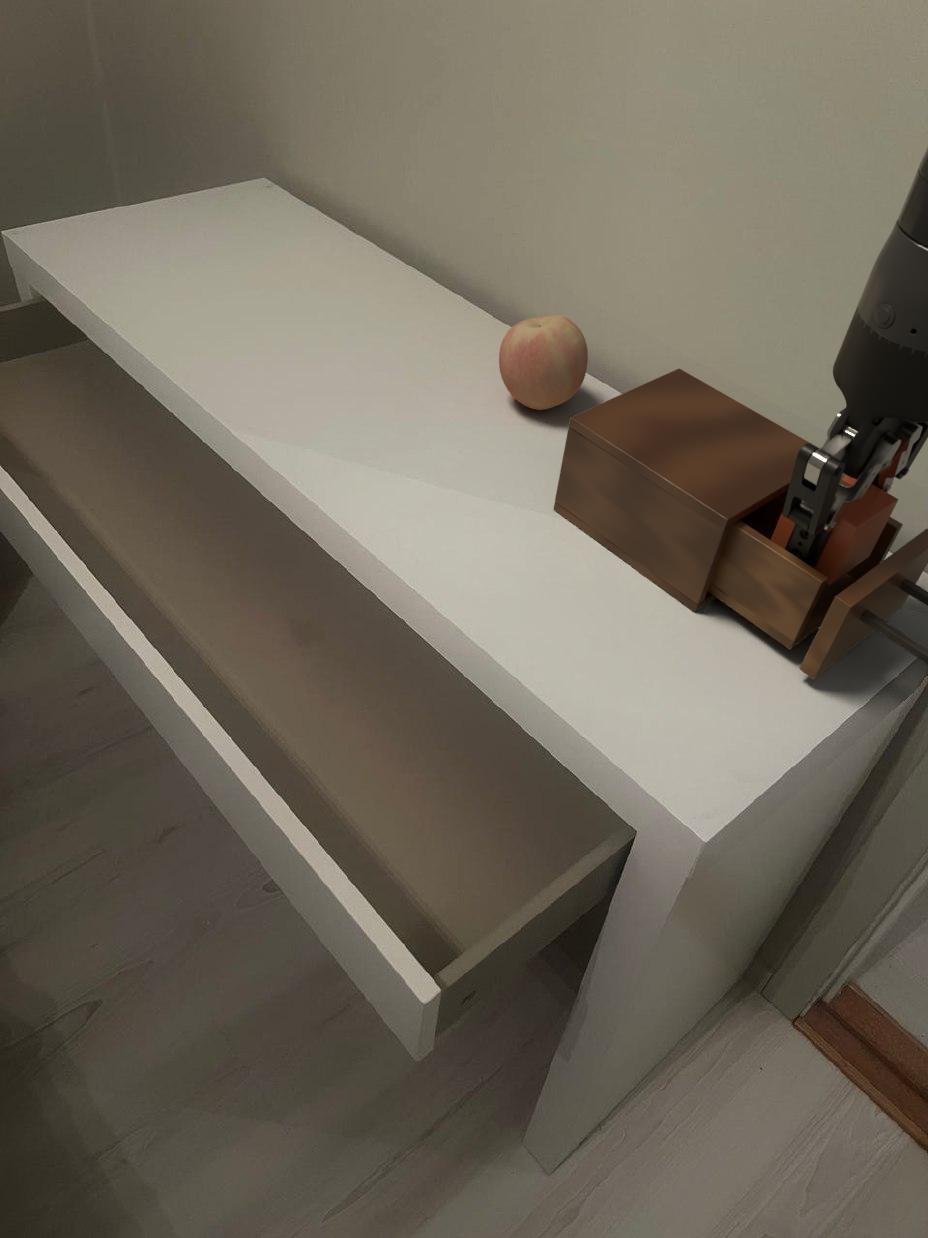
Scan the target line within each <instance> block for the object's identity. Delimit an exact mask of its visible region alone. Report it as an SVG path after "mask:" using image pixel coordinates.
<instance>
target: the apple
mask: <svg viewBox="0 0 928 1238" xmlns="http://www.w3.org/2000/svg"><path fill="white" fill-rule="evenodd" d="M588 358H589V353H588V345H587V341H586V338H585V335H584V334H583V332H582V330H581V329H580V327H579V326H577V324H576V323H574V322H573V321H572V320H571V319H570V318H568V317H566V316H563V315H558V314H553V315H546V316H539V317H531V318H526V319H523V320H521V321H520V322H518V323H516V324H514V325H513V326H511V327H510V328H509V329H508V331H507V332H506V333H505V335H504V336H503V338H502V341H501V344H500V346H499V352H498V368H499V374H500V376H501V380H502V382H503V384H504V386H505V388H506V390H507V391H508V393H509V394H510V395H511V396H512V397H513V398H514V399H515V401H517V403H520V404H521V405H523V406H524V407H527V408H530V409H532V410H538V411H542V410H548V409H551V408H554V407H556V406H559V405H562V404H564V403H565V402H567V401H569V400H570V399H571V398H572V397H574V395H576V393H577V392H578V391H579V390H580V388H581V386H582V385H583V383H584V381H585V378H586V373H587V369H588V363H589V362H588V360H589V359H588Z"/></svg>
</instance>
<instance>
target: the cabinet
mask: <svg viewBox="0 0 928 1238" xmlns="http://www.w3.org/2000/svg"><path fill="white" fill-rule="evenodd" d="M807 443H810V444H812V445H814V446H815V447H817V448H819V449H820V448H821V447H818V446H816V445H815V444H814V443H811V441H808V440H806V439H805V438H802V437H801V436H799V435H798V434H796V433H793V432H792V431H790V430H789V429H787V428H785V427H783V426H781V425H780V424H778V423H776V422H775V421H773V420H771V419H770V418H768V417H766V416H764V415H762V414H761V413H759V412H757V411H755V410H753V409H752V408H750V407H748V406H746V405H745V404H743V403H741V402H739V401H738V400H735V398H732V397H730V396H729V395H727V394H725V393H723V392H721V391H720V390H718V389H717V388H715V387H713V386H711V385H710V384H707V383H706V382H704V381H702V380H700V379H699V378H697V377H695V376H694V375H692V374H690V373H689V372H686V371H684V370H683V369H681V368H677V369H674V370H672V371H669V372H668V373H665V374H663V375H661V376H659V377H657V378H654V379H652V380H650V381H647V382H646V383H643V384H641V385H639V386H637V387H633V388H632V389H631V390H627V391H625V392H623V393H621V394H619V395H617V396H614V397H612V398H610V399H608V400H606V401H603V402H601V403H599V404H596V405H594V406H593V407H590V408H588V409H586V410H583V411H581V412H578V413H577V414H575V415H573V416H570V418H569V421H568V427H567V433H566V439H565V444H564V449H563V455H562V460H561V465H560V471H559V477H558V481H557V487H556V493H555V499H554V503H553V504H554V505H553V510H554V511H555V512H556V513H558V514H559V515H560V516H561V517H563V518H565V519H566V520H568V521H569V522H570V523H572V524H573V525H575V526H576V527H577V528H578V529H580V530H582V531H583V532H584V533H585V534H587V535H588V536H590V537H591V538H593V539H594V540H595V541H596V542H598V543H599V544H601V545H602V546H603V547H605V548H606V549H607V550H609V551H610V552H612V553H613V554H614V555H615V556H616V557H618V558H619V559H621V560H622V561H623V562H625V563H626V564H628V565H629V566H630V567H632V568H633V569H635V570H636V571H637V572H639V573H640V574H642V575H643V576H644V577H645V578H647V579H648V580H650V581H651V582H652V583H654V584H655V585H657V586H658V587H659V588H661V589H662V590H663V591H665V592H666V593H667V594H669V595H670V596H672V597H673V598H675V599H676V600H677V601H678V602H680V603H681V604H683V605H684V606H685V607H686V608H688V609H689V610H691V611H692V612H693V613H696V612H698V611H699V610H701V609H702V608H704V607H705V606H707V605H708V604H710V603H711V602H713V601H715V600H716V599H717V598H716V597H715V596H714V595H712V594H711V593H709V592H708V588H709V585H710V582H711V580H712V577H713V574H714V571H715V569H716V566H717V563H718V560H719V557H720V555H721V552H722V549H723V546H724V544H725V541H726V538H727V535H728V533H729V530H730V527H731V525H732V524H733V523H735V522H737V521H738V520H740V519H742V518H743V517H745V516H746V515H748V514H750V513H751V512H753V511H755V510H756V509H758V508H760V507H761V506H763V505H765V504H766V503H768V502H769V501H771V500H773V499H774V498H776V497H778V496H779V495H781V494H783V493H784V492H786V491H787V490H788V489H789V485H790V481H791V477H792V473H793V469H794V466H795V462H796V458H797V455H798V452H799V450H800V449H801V448H802V447H803V446H804V445H805V444H807Z"/></svg>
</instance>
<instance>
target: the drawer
mask: <svg viewBox="0 0 928 1238" xmlns="http://www.w3.org/2000/svg"><path fill="white" fill-rule="evenodd" d="M787 493H788V490H787V491H786V492H784V493H783V494H781V495H779V496H778V497H776V498H774V499H773V500H771V501H769V502H768V503H766V504H765V505H763V506H761V507H760V508H758V509H756V510H755V511H753V512H751V513H750V514H748V515H746V516H745V517H743V518H742V519H740V520H738V521H737V522H735V523H733V524H732V525H731V527H730V530H729V533H728V535H727V538H726V541H725V544H724V546H723V549H722V552H721V555H720V557H719V560H718V563H717V566H716V569H715V571H714V574H713V577H712V580H711V582H710V585H709V588H708V592H709V593H711V594H712V595H714V596H715V597H716V599H718V600H719V601H720V602H722V603H724V604H725V605H726V606H727V607H729V608H731V609H732V610H733V611H735V612H736V613H738V615H740V616H741V617H743V618H745V619H746V620H747V621H749V622H750V623H752V624H753V625H754V626H755V627H757V628H759V629H760V630H761V631H762V632H764V633H765V634H767V635H768V636H770V637H771V638H773V639H774V640H776V641H777V642H778V643H780V644H781V645H782V646H784V647H785V648H787V649H788V650H792V649H793V648H794V647H796V646H797V645H798V644H800V643H801V642H803V641H804V640H805V639H807V638H808V637H809V636H810V635H812V634H813V633H814V632H816V631H817V632H816V634H815V636H814V638H813V639H812V642H811V644H810V646H809V648H808V650H807V652H806V654H805V656H804V658H803V660H802V662H801V664H800V666H799V668H798V670H799V671H801V672H802V673H804V674H805V675H806V676H808V677H809V678H811V680H815V679H816V678H817V677H819V676H820V675H821V674H822V673H823V672H825V671H827V669H829V668H830V667H832V665H834V664H835V663H837V661H839V660H840V659H841V658H842V657H844V656H845V655H846V654H847V653H849V652H850V651H851V650H853V649H854V648H855V647H856V646H857V645H858V644H860V643H861V642H862V641H864V640H865V639H866V638H868V637H869V636H870V635H871V634H872V633H873V632H875V631H876V632H878V633H880V635H883V636H884V637H886V638H887V639H888V640H890V641H892V642H893V643H894V644H896V645H898V646H899V647H901V649H904V650H905V651H907V652H908V653H910V654H911V655H913V656H914V657H915V658H917V659H919V660H920V661H922V662H924V664H926V665H928V647H926V646H924V645H923V644H921V643H920V642H918V641H917V640H915V639H914V638H912V637H910V636H909V635H907V634H906V633H904V632H903V631H901V630H900V629H898V628H897V627H895V626H893V625H891V624H890V623H889V622H888V620H890V619H891V618H892V617H893V616H894V615H896V614H897V613H898V612H899V611H900V610H902V609H903V607H904V605H905V604H906V602H907V600H908V599H909V597H912V598H914V599H916V600H917V601H918V602H920V603H922V604H923V605H925V606H927V607H928V590H927V589H924V588H923V587H921V586H919V585H918V584H917V583H918V581H919V579H920V577H922V574H923V572H924V571H925V569H926V567H927V565H928V528H925V529H924V530H923V531H921V532H920V533H918V534H917V535H916V536H914V537H913V538H912V539H911V540H909V541H907V542H906V543H905V544H903V546H901V547H900V548H898V549H897V550H895V552H893V553H891V554H890V555H889V556H888V554H889V552H890V550H891V548H892V546H893V544H894V543H895V540H896V538H897V537H898V535H899V533H900V531H901V529H902V528H903V525H904V524H903V523H902V522H900V521H898V520H896V518H893V517H891V516H890V517H889V519H888V521H887V523H886V525H885V527H884V529H883V531H882V533H881V535H880V537H879V539H878V541H877V543H876V544H875V546H874V548H873V550H872V552H871V554H870V556H869V557H868V558H866V559H865V560H864V561H862V562H861V563H859V564H858V565H857V566H855V567H854V568H853V569H851V570H850V571H849V572H847V573H846V574H844V575H843V576H842V577H840V578H839V579H838V580H836V581H835V582H833V583H832V584H831V585H828V584H827V580H828V577H827V576H825V575H824V574H822V573H820V572H819V571H817V570H816V569H814V568H813V567H811V566H810V565H808V564H807V563H805V562H803V561H802V560H800V559H799V558H797V557H796V556H794V555H793V554H791V553H790V552H788V551H786V550H785V549H783V548H782V547H780V546H779V545H777V544H776V543H774V542H773V541H771V538H772V536H773V533H774V531H775V528H776V526H777V524H778V521H779V519H780V516H781V514H782V511H783V508H784V504H785V500H786V496H787Z"/></svg>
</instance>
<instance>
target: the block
mask: <svg viewBox="0 0 928 1238" xmlns="http://www.w3.org/2000/svg"><path fill="white" fill-rule="evenodd" d="M842 480H843V481H845V482H847V483H849V484H850V485H852V486H853V485H854V484H855V483H856V481H857V480H856V479H855V478H851V477H849V476H847V475H846V474H845V476H844V478H843V479H842ZM835 501H836V495H835V498H834V501H833V504H832V506H833V505H834V503H835ZM898 502H899V499H898V498H897V497H896V496H894V495H892V494H891V493H888V492H885V491H883V490H881V489H880V488H878V487H876V486H875V485H873V484H871V485H870V486H869V488H868V490H867V491H866V493H865V494H864V496H863V497H862V499H860V500H859V501H854V502H850V503H849V505H848V506H847V508H846V510H845V511H844V513H843V514H842V516H841V518H840V519H839V521H838V524H837V526H836V527H835V528H834V529H833V531H832V533H831V536H830V538H829V540H828V542H827V544H826V546H825V548H824V551H823V553H822V555H821V557H820V559H819V561H818V563H817V565H816V567H815V568H814V569H816V570H817V571H819V572H820V573H822V574H824V575H825V576H827V577H828V580H827V584H828V585H831V584H832V583H833V582H835V581H836V580H838V579H839V578H840V577H842V576H843V575H844V574H846V573H847V572H849V571H850V570H851V569H853V568H854V567H855V566H857V565H858V564H859V563H861V562H862V561H864V560H865V559H866V558H868V557H869V556H870V554H871V552H872V550H873V548H874V546H875V544H876V543H877V541H878V539H879V537H880V535H881V533H882V531H883V529H884V527H885V525H886V523H887V521H888V519H889V517H891V515H892V513H893V511H894V509H895V507H896V506H897V504H898ZM831 508H832V507H831ZM782 512H783V511H782ZM795 524H796V523H794V522H793V521H791V520H789V519H788V518H786V517H785V516H783V515H782V514H781V516H780V519H779V521H778V524H777V526H776V528H775V531H774V533H773V536H772V538H771V541H773V542H774V543H776V544H777V545H779V546H780V547H782V548H783V549H785V547H786V545H787V542H788V540H789V538H790V535H791V533H792V531H793V528H794V526H795Z"/></svg>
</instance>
